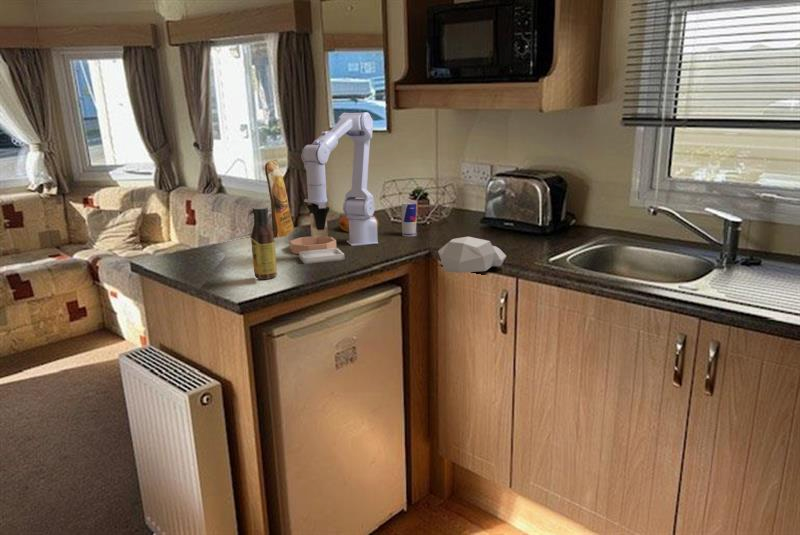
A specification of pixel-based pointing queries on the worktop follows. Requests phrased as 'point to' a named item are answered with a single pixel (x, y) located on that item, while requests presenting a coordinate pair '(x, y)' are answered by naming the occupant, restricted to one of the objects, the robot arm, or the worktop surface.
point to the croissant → (345, 223)
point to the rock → (470, 255)
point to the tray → (321, 255)
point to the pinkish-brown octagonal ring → (312, 244)
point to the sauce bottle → (263, 245)
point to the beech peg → (314, 231)
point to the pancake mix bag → (278, 200)
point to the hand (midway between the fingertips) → (319, 228)
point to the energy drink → (409, 219)
